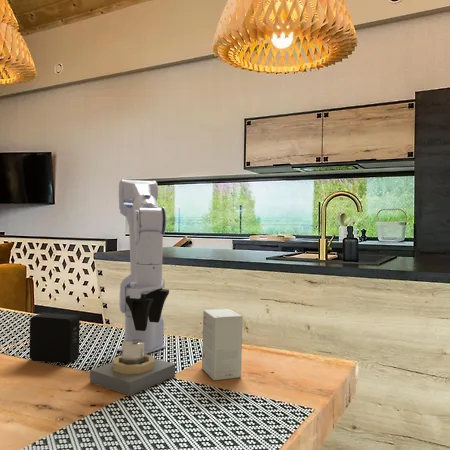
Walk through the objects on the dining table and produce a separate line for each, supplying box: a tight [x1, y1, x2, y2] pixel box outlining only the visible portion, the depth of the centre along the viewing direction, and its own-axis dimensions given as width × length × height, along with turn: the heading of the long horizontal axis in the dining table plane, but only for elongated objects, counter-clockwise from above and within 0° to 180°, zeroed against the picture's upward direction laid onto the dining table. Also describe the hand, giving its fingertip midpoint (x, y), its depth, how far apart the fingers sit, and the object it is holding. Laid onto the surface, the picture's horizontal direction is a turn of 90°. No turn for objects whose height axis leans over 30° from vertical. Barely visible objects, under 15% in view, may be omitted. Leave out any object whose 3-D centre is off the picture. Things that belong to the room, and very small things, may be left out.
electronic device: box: [29, 312, 81, 365], centre depth 105 cm, size 4×10×10 cm, turn 78°
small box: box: [201, 308, 243, 381], centre depth 99 cm, size 8×6×13 cm
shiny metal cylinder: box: [121, 339, 144, 365], centre depth 94 cm, size 4×4×5 cm
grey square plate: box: [89, 354, 176, 396], centre depth 94 cm, size 13×11×4 cm
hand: (147, 326), depth 100 cm, fingers open, 7 cm apart
